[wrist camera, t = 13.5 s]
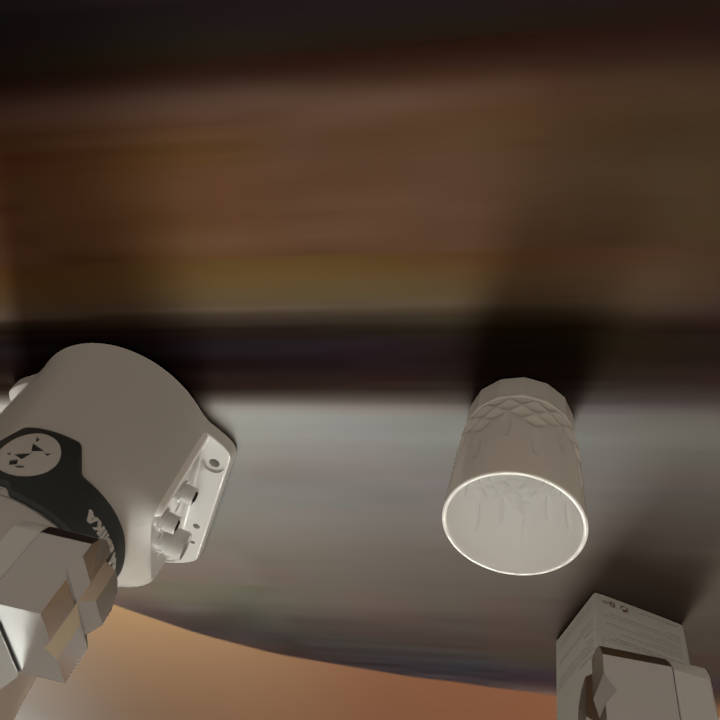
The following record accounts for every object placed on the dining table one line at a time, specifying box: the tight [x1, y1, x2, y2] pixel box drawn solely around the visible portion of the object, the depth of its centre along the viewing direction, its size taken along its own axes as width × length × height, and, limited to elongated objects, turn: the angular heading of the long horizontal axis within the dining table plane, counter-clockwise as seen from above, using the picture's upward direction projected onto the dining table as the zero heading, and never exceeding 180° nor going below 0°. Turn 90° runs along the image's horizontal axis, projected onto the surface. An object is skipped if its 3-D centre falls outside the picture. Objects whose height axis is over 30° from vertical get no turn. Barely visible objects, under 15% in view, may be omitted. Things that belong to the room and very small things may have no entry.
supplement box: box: [556, 593, 690, 720], centre depth 50 cm, size 7×7×13 cm
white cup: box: [442, 377, 588, 575], centre depth 42 cm, size 8×8×10 cm
